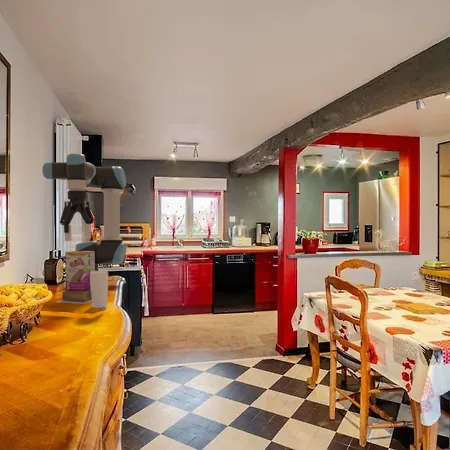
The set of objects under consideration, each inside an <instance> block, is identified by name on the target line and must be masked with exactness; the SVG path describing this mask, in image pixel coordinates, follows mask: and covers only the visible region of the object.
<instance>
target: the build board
mask: <svg viewBox="0 0 450 450" xmlns="http://www.w3.org/2000/svg"><path fill="white" fill-rule="evenodd" d="M90 302H91V303H92V299H90V300H88V301H85V302H74V301H63V299H60V300H58V301H56V303H66V304H67V303H68V304H81V305H82V304H88V303H90Z"/></svg>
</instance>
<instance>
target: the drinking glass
mask: <svg viewBox="0 0 450 450" xmlns="http://www.w3.org/2000/svg"><path fill="white" fill-rule="evenodd" d="M90 288H91V297H92V301H91V305H92V306H91V307H92V309H93V308H94V309H101V310H99V312H104V311H107V309H108V307H107V306H108V293H109V292H108V291H109V272H108V270H99V271H93V272H90ZM102 308H103V309H102Z"/></svg>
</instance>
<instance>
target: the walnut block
mask: <svg viewBox="0 0 450 450" xmlns="http://www.w3.org/2000/svg"><path fill="white" fill-rule="evenodd" d="M61 294H62V300H63V301H74V302H85V301H88V300H90V299H92V297H91V291H77V290H66V289H65V290H63V291H62V293H61Z"/></svg>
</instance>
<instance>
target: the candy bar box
mask: <svg viewBox="0 0 450 450" xmlns="http://www.w3.org/2000/svg"><path fill="white" fill-rule="evenodd" d="M64 253H65V256H64V263H65V264H64V265H65V291H66V290H77V291H91V288H90V272H93V271H95V252H94V251H75V250H69V251H65V252H64Z"/></svg>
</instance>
